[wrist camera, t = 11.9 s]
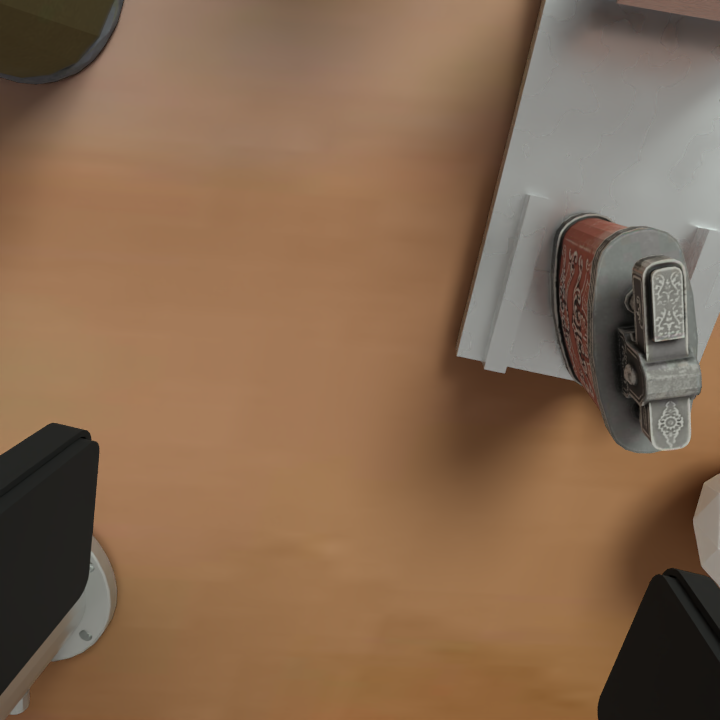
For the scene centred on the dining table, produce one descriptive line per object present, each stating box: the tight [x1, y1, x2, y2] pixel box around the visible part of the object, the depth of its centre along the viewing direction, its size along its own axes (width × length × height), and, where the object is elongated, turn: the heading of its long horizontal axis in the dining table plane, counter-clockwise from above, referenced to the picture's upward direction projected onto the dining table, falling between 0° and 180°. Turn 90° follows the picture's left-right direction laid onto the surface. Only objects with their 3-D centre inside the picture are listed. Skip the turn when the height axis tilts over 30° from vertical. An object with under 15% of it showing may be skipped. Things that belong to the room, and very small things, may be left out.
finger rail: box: [456, 0, 720, 381], centre depth 21 cm, size 20×11×10 cm, turn 170°
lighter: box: [550, 213, 702, 453], centre depth 22 cm, size 8×3×10 cm, turn 11°
